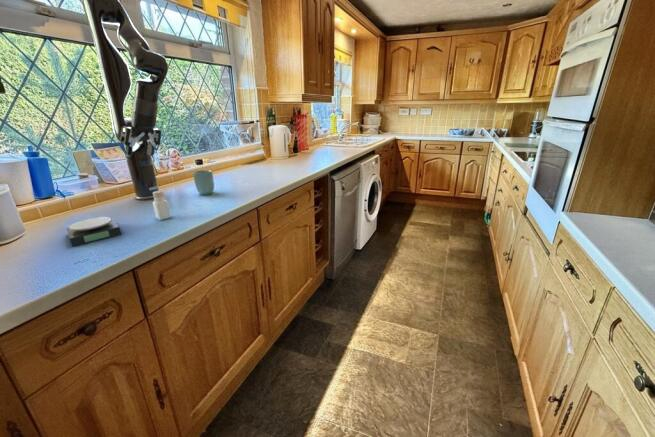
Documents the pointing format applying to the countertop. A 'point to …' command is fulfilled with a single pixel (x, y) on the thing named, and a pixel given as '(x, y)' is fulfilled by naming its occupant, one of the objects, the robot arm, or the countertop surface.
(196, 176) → the cup
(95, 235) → the scale
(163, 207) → the salt shaker
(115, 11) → the robot arm
